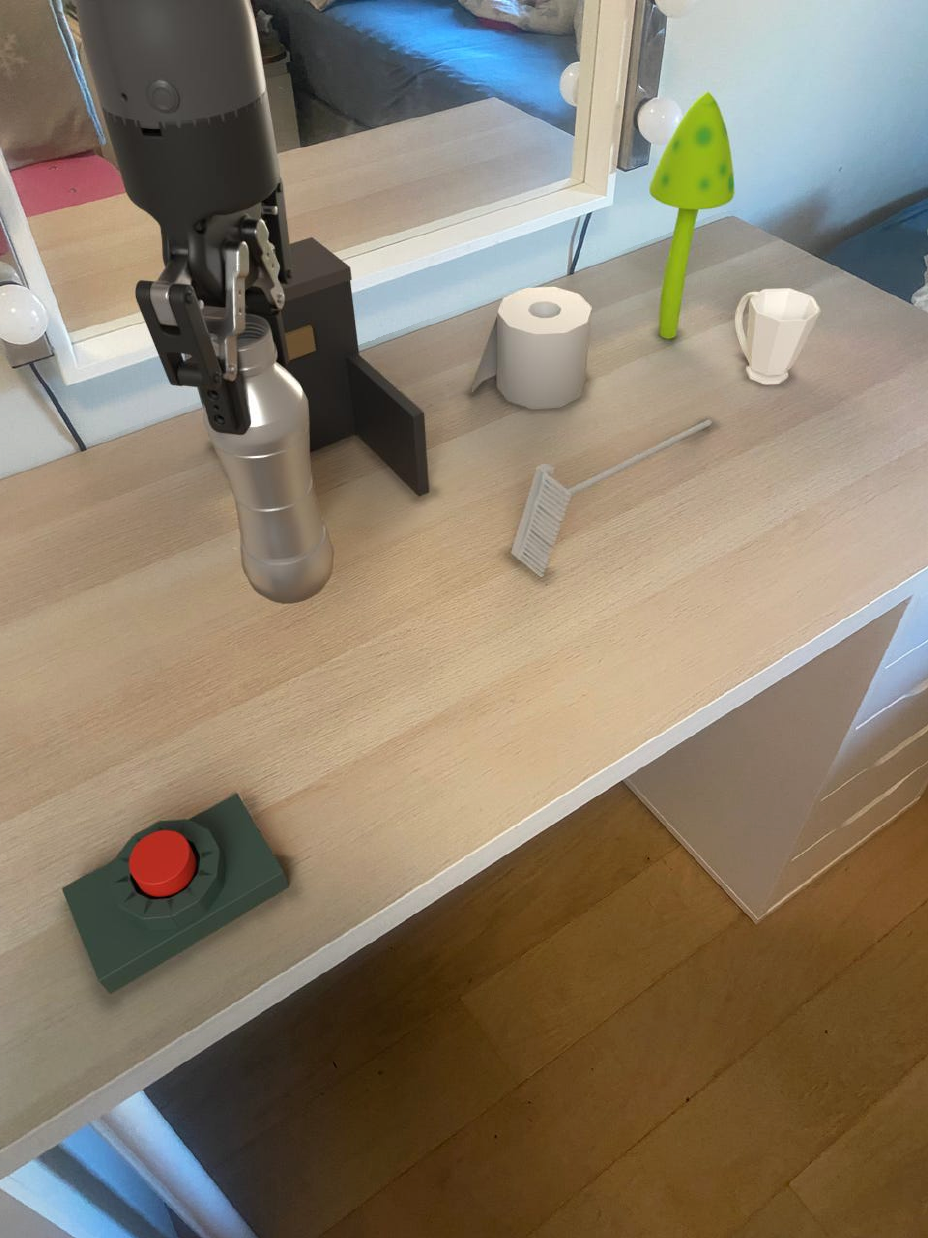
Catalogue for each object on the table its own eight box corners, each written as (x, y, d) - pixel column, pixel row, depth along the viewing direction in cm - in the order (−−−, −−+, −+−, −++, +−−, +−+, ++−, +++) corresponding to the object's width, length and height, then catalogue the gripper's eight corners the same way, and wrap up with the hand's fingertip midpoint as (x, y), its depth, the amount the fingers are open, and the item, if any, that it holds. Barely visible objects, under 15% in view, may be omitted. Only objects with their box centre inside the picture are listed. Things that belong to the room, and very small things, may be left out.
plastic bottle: (245, 619, 62) (171, 366, 48) (252, 552, 67) (187, 303, 52) (337, 612, 63) (293, 360, 48) (338, 546, 67) (298, 297, 52)
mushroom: (713, 323, 103) (763, 82, 85) (694, 360, 98) (742, 112, 80) (643, 309, 106) (676, 71, 87) (620, 344, 101) (651, 100, 82)
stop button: (149, 908, 53) (141, 895, 52) (128, 862, 55) (120, 849, 54) (205, 876, 55) (198, 863, 53) (183, 833, 57) (175, 819, 55)
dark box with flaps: (433, 490, 84) (423, 324, 71) (298, 551, 79) (262, 383, 66) (335, 396, 95) (312, 236, 82) (211, 443, 90) (165, 281, 77)
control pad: (110, 995, 54) (88, 970, 51) (73, 903, 58) (50, 875, 55) (289, 887, 58) (278, 858, 55) (243, 809, 62) (231, 778, 59)
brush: (717, 478, 92) (754, 400, 85) (540, 579, 76) (570, 493, 70) (688, 458, 94) (723, 380, 87) (510, 553, 78) (535, 466, 71)
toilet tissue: (452, 395, 95) (449, 321, 88) (544, 350, 100) (548, 277, 94) (508, 434, 90) (510, 359, 83) (602, 385, 95) (610, 310, 89)
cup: (759, 398, 93) (778, 328, 87) (704, 351, 99) (718, 282, 93) (814, 382, 95) (836, 311, 89) (757, 337, 101) (774, 268, 95)
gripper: (171, 32, 46) (238, 329, 59) (25, 138, 37) (141, 464, 49) (310, 39, 45) (347, 340, 57) (195, 150, 36) (270, 480, 48)
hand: (252, 396), depth 53 cm, fingers closed on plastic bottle, 6 cm apart
